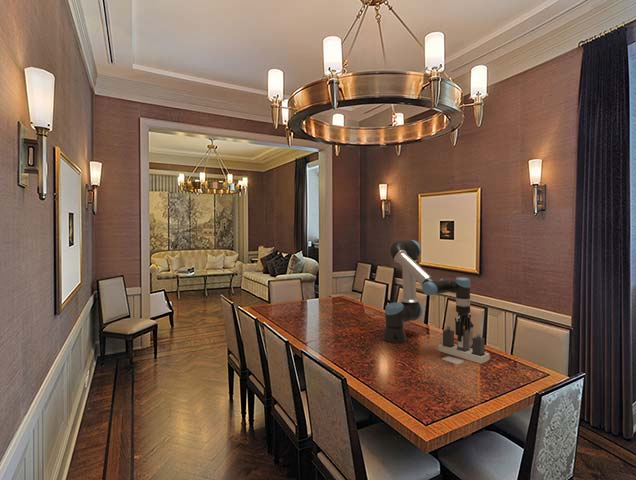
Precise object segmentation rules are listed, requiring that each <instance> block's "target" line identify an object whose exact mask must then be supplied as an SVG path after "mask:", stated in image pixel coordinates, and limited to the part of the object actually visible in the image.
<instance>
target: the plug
mask: <svg viewBox="0 0 636 480" xmlns="http://www.w3.org/2000/svg"><path fill="white" fill-rule="evenodd" d="M462 336H463V348H462V347H458V335H456V339H457V341H456V343H457V344H456V345H457V350H460V351H464V352H466V351H468V350H469V348H470V347H469V330H468V329H465V325H463V334H462Z"/></svg>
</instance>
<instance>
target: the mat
mask: <svg viewBox="0 0 636 480" xmlns="http://www.w3.org/2000/svg"><path fill="white" fill-rule="evenodd" d="M441 360H442V361H446V362H448V363H449V362H450V363H453V364H455V365H460V364H462V363H464V362H465V360H464V359H461V358H457V357H454V356H453V357H452V356H451V355H447V356H445V357H443V358H441Z"/></svg>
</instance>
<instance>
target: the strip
mask: <svg viewBox="0 0 636 480" xmlns="http://www.w3.org/2000/svg"><path fill="white" fill-rule="evenodd" d="M485 343H486V342H485V338H484V337H482V336H481V333H479V332H477V333H476V336H473V338H472V347H469V350H468V351H466V352H464V351H460V350H457V344H456V343H455V331H454V330H453V329H451V326H449V325H448V326H446V328H445V329H444V330H442V343H440V344H438V345H437V352H439V353H444V354H445V355H448V356H451V357H452V356H453V357H455V358H458V359H461V360H464V361H465V360H466V361H469V362H472V363H475V364H479V365H483V364H485V363H487V362H489V361H491V360H490V358H491V357H490V356H491V355H490V353H488V352H485V345H486V344H485Z"/></svg>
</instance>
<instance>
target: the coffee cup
mask: <svg viewBox="0 0 636 480" xmlns="http://www.w3.org/2000/svg"><path fill="white" fill-rule="evenodd" d="M474 326H475V325H474V323H472V321H471V320H470V334H469V348H472V338H474ZM468 330H469V329H468Z"/></svg>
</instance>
